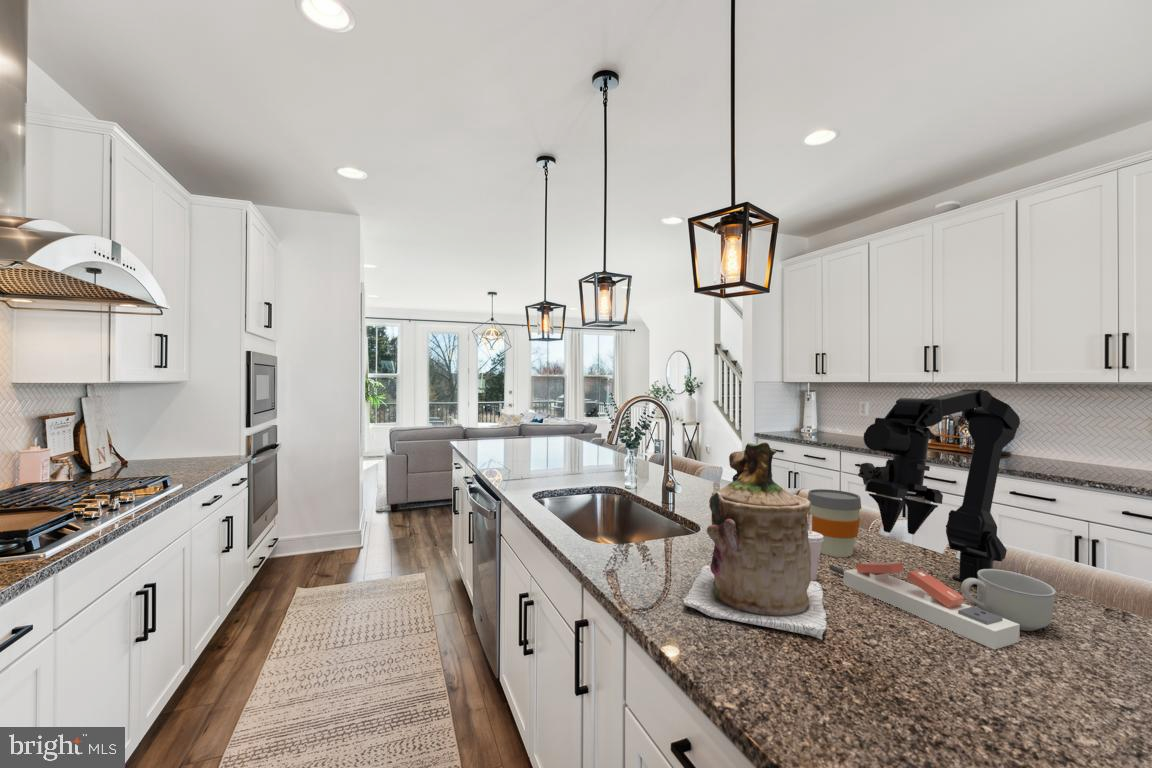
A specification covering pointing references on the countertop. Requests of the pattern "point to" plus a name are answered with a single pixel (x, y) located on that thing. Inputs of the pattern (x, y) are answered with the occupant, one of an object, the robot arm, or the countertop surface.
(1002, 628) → the power strip
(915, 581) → the block
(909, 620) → the countertop surface
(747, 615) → the cookie jar
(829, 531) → the reusable coffee cup
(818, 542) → the smoothie
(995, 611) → the teacup
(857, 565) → the rocker
